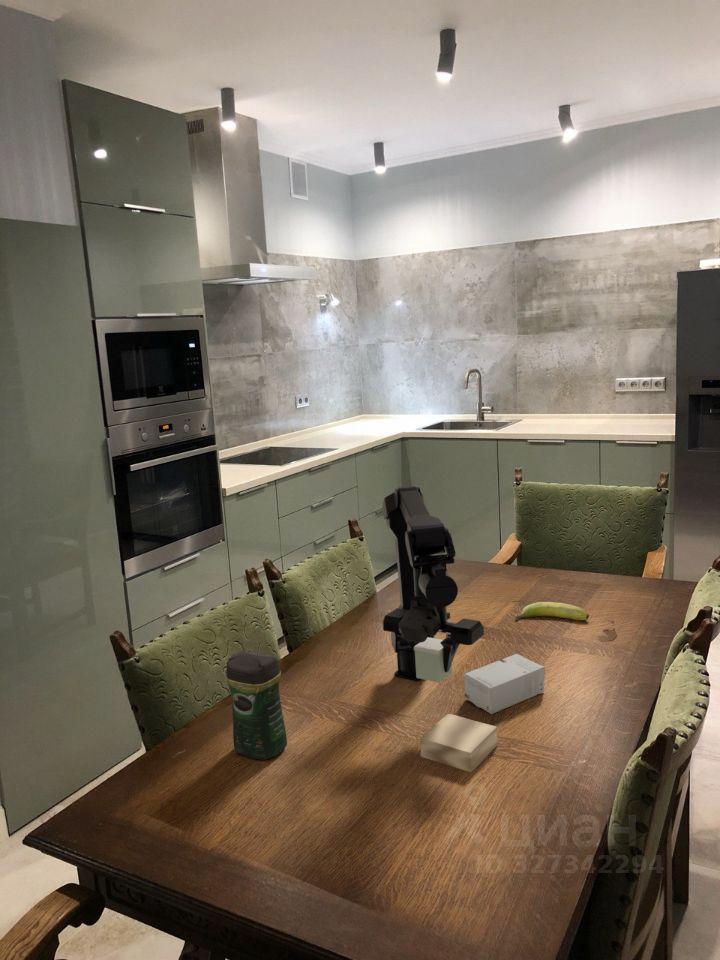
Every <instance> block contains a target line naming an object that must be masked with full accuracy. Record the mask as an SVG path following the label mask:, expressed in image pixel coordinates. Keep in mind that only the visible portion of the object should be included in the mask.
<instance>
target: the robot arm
mask: <svg viewBox="0 0 720 960" xmlns="http://www.w3.org/2000/svg"><path fill="white" fill-rule="evenodd" d="M381 510H382V516H383V520H385V522H386V526H387V528H388V530H389V531H390V533H391V534H392V535H393V537H394V539H395V541H394V542H395V554H396V564H397V565H396V566H397V577H398V587H399V589H398V590H399V600H400V602H399V603H400V604H399V606H398V607H397V608H395V609H393V610H392V611H390V612H389V613H387V614H385V616H384V617H383V619H382V630H383V631H384V632H390V633H391V634H390V640H391V646H392V648H393V651H394V653H396V662H397V670H396V671H395V672H394V674H393V675H394V676H395V677H399V678H404V679H408V680H413V681H417V682H419V681H421V680H422V679H420V678H416V662H415V650H414V646H416V645H417V644H418V643H420V642H424V641H425V640H426V639H427V637H429V638H435V636H436V635H437V633H443V634H445V638H444V639H442V640H443V641H441V642H440V643H441V645H442V646H443V648H444V670H445V672H448V671H449V669H450V667H451V664H452V665H453V661H454V658H455V656H456V653H457V651H458V649H459V646H460V645H465V646H472V645H473V644H475V642H477V641H478V640H480V638H483V636H484V635H485V631H484V629H485V627H484V625H483V623H482V622H481V621H480V620H476V619H471V618H470V619H469V618H461V619H460V620H458V622H455V623H452V622H448V620H449V619H451V612H448V611H447V607H449V606H450V605H451V604H452V603H454V602H455V600H456V599H457V597H458V592H459V587H458V585H457V582H456V581H455V580H454V579H453V577H452V575H450V573H448V569H447V565H450V564H451V565H452V564H453V565H454V564H455V557H456V550H455V549H456V548H455V545H454V542H453V538H452V534H451V533H450V531H449V528H448V527H446V526H445V524H444V523H443V522H442V520H441V519H440V518H438V517H436V516H432V515H431V514H430V512H429V510H428V508H427V506H426V504H425V500H424V494H423V493H422V491H421V488H420V487H419V486H416V485H412V486H400V487H397V488H395V489H394V491H393V492H392V493H391V494H389V495H387V496H385V497H384V499H383V502H382V508H381Z"/></svg>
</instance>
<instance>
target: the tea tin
mask: <svg viewBox="0 0 720 960" xmlns="http://www.w3.org/2000/svg"><path fill="white" fill-rule="evenodd" d="M443 640H444V639H440V638H435V637H434V638H429V637H427V639H426V640H425V641H424V642H420V643H418V644H417V645H416V646H414V650H415V662H416V678H420V679H421V680H424V681H430V682H435V683H442V682H444V680H445V679H447V678H448V677H449V676H450V675H451V674H453V663H452V664H451V667H450V669H449V671H448V672H445V670H444V648H443V646H442V645H441V643H440V642H441V641H443Z"/></svg>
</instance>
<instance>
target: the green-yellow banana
mask: <svg viewBox="0 0 720 960" xmlns="http://www.w3.org/2000/svg"><path fill="white" fill-rule="evenodd" d="M517 602H518V600H512V601H511V603H517ZM521 602H522V603H524V602H529V603H530V602H532V603H531V604H528V605H526V606H524V608H523V609H522V611H521V613H520V614H519V615H517V616H515V620H516V621H521V620H522V619H527V618H542V617H543V618H544V617H546V618H547V617H548V618H560V619H567V620H573V621H577V622H582V621H588V619H589V617H590V615H589V613H588V612H587V610H585V609H584V608H581V607H580V606H577V605H573V604H569V603H565V602H554V601H538V602H534V600H533V599H525V600H521ZM533 602H534V603H533ZM605 620H606V622H608V623H610V624H612V625H615V620H613V619H611V618H610V617H609V618H605ZM574 626H576V625H574ZM574 626H573V627H574ZM563 630H570V631H572V629H571V625H569V626H568V627H567V628H564V629H563ZM602 633H604V634H605V635H597V636H596V638H598V639H597V641H598V642H600V643H604V642H610V641H613V640H615V638H616V637H617V636H618V634H617V632H616V628H615V627H610V628H604V629H602Z"/></svg>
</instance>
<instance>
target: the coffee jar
mask: <svg viewBox="0 0 720 960" xmlns="http://www.w3.org/2000/svg"><path fill="white" fill-rule="evenodd" d="M225 669H226V672H225V673H226V674H225V675H226V677H225V678H226V682H227V685H228V688H229V691H230V696H231V707H232V708H231V710H232V733H233V734H232V736H233V737H232V739H233V748H234V751H235V752H236V753H237V754H239V755H242V756H245V757H249V758H253V759H257V760H268V759H270V758H274V757H276V756H278V755H279V754H281V753H282V752H283V751H284V750H285V748H286V747H287V745H288V739H287V737H288V735H287V731H286V725H285V720H284V715H283V708H282V702H281V697H280V680H281V675H282V674H281V673H282V672H281V668H280V664H279V660H278V658H277V657H276V656H273V655H269V654H263V653H258V652H250V651H245V650H240V651H238V652H236V654H233V655H232V656H230V657H228V660H227V662H226V667H225Z"/></svg>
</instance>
